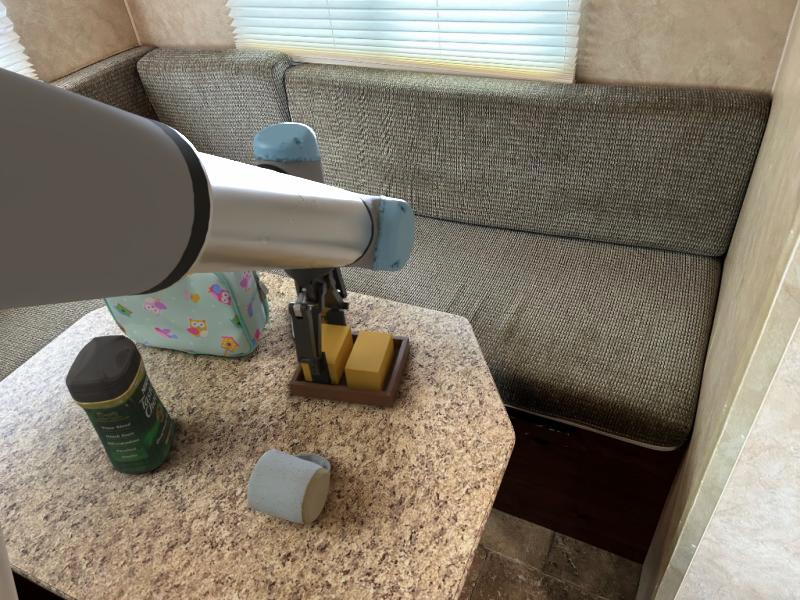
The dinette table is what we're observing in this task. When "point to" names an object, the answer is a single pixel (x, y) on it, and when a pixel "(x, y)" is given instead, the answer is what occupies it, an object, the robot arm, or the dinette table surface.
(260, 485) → the ceramic mug
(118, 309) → the lunch box
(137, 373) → the coffee jar
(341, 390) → the frame
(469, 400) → the dinette table surface
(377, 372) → the pad seated
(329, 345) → the pad loose
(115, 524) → the dinette table surface
